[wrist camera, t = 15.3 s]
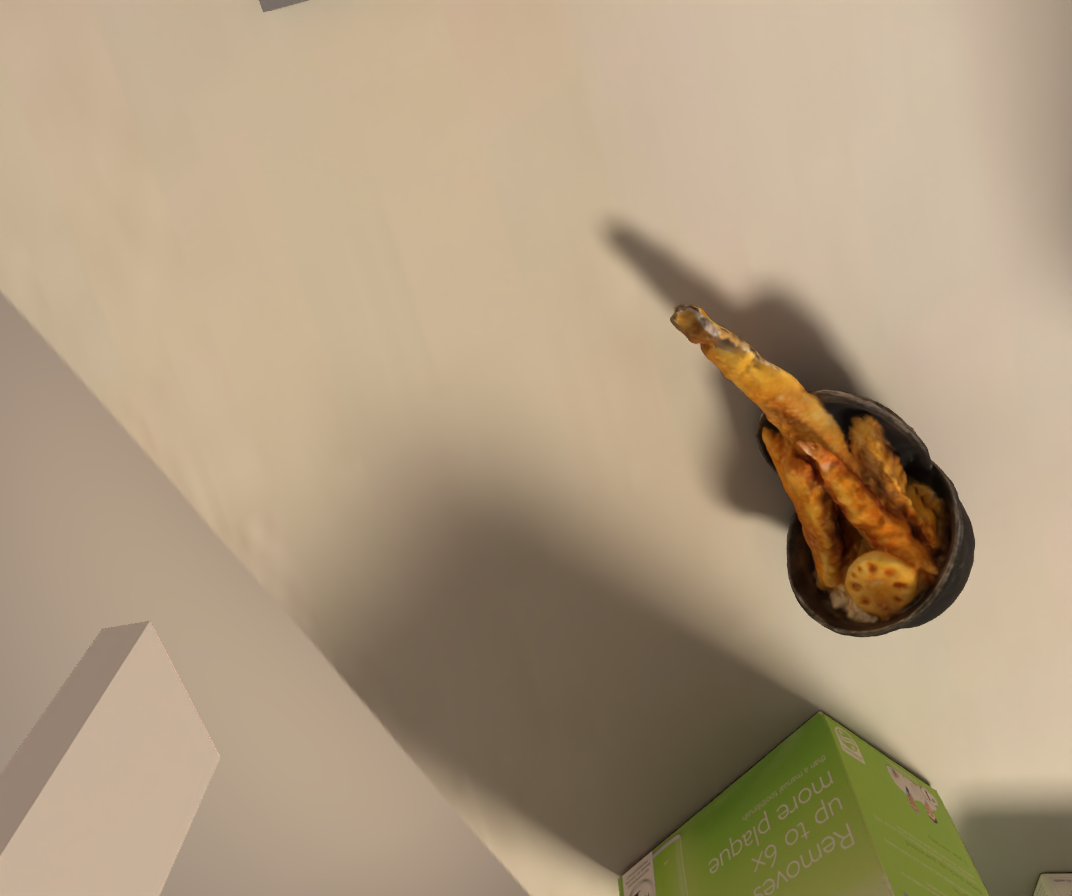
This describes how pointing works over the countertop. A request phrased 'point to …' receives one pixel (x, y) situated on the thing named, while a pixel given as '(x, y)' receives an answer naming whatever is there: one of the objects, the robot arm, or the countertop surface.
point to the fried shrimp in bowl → (850, 496)
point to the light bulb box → (1054, 885)
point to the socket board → (277, 4)
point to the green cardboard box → (814, 830)
